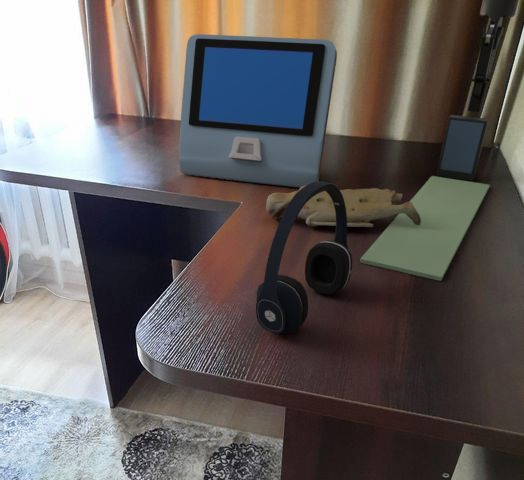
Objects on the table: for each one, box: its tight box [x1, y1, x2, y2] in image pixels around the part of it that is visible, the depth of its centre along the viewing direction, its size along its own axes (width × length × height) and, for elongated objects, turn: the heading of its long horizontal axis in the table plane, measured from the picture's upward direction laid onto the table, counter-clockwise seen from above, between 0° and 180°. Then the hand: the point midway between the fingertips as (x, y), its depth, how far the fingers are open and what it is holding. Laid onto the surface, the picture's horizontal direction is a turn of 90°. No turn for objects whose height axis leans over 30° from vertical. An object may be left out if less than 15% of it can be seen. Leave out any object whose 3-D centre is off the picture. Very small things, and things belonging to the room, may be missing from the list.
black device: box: [435, 114, 490, 182], centre depth 125 cm, size 9×3×14 cm, turn 62°
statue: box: [265, 184, 421, 228], centre depth 100 cm, size 10×7×30 cm
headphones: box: [255, 180, 353, 335], centre depth 70 cm, size 20×7×18 cm, turn 146°
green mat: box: [359, 175, 491, 282], centre depth 105 cm, size 14×55×1 cm, turn 152°
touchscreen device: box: [178, 33, 338, 189], centre depth 121 cm, size 35×20×30 cm, turn 73°
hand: (473, 110), depth 126 cm, fingers closed
